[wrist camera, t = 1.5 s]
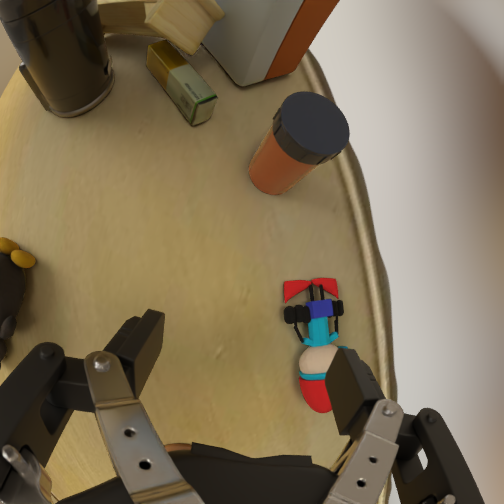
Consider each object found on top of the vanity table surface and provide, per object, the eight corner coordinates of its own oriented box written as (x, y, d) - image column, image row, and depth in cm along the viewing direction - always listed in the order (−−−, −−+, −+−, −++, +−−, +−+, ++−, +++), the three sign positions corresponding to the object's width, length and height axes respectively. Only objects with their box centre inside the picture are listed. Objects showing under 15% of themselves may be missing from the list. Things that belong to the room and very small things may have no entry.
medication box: (212, 118, 29) (220, 97, 25) (192, 127, 28) (198, 106, 24) (163, 59, 28) (166, 37, 24) (144, 66, 27) (146, 44, 23)
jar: (248, 192, 29) (282, 147, 18) (249, 147, 29) (280, 89, 19) (295, 197, 30) (348, 159, 19) (294, 154, 31) (340, 104, 20)
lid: (272, 159, 20) (282, 147, 18) (271, 99, 20) (279, 84, 18) (339, 170, 21) (353, 161, 19) (332, 113, 22) (344, 101, 20)
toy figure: (271, 284, 30) (285, 415, 26) (290, 276, 25) (306, 427, 22) (329, 280, 32) (341, 398, 29) (353, 271, 28) (366, 405, 24)
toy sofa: (198, 59, 23) (243, -5, 20) (152, 22, 15) (214, -50, 12) (96, 43, 26) (130, -8, 23) (55, 26, 18) (95, -30, 15)
